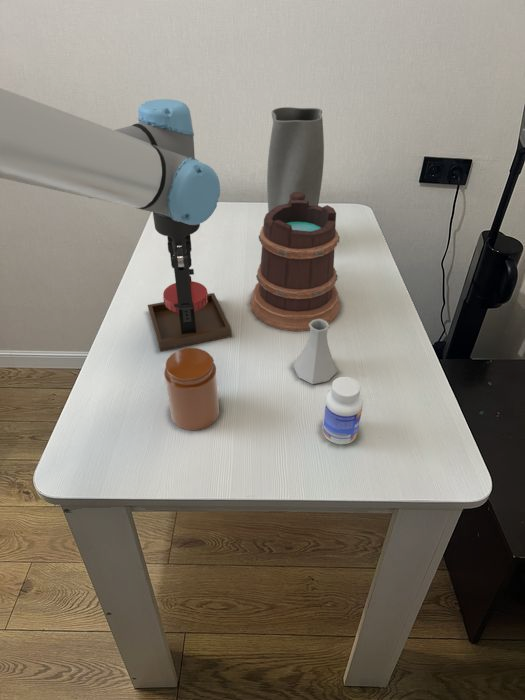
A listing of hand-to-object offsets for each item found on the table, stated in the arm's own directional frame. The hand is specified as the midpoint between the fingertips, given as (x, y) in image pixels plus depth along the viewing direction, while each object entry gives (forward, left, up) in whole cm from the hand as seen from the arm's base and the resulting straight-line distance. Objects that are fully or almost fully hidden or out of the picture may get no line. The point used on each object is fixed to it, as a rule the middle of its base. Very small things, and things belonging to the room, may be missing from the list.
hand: (187, 318), depth 94 cm
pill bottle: (+16, -34, -2) cm, 38 cm away
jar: (-4, -23, -2) cm, 23 cm away
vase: (+31, +24, -2) cm, 39 cm away
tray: (0, 0, -2) cm, 2 cm away
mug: (+23, +2, -2) cm, 23 cm away
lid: (0, 0, +6) cm, 6 cm away
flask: (+18, -20, -2) cm, 27 cm away
